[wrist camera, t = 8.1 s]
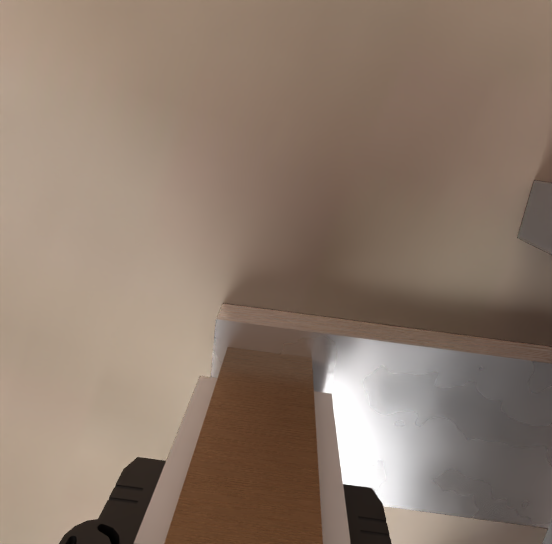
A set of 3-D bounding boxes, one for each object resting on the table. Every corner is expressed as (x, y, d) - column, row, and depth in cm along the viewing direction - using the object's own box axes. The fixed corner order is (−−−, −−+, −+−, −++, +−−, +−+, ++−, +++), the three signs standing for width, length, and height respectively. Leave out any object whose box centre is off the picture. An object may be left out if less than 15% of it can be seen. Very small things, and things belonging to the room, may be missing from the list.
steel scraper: (208, 455, 19) (113, 804, 9) (222, 303, 17) (118, 544, 7) (654, 515, 19) (1039, 933, 9) (724, 369, 17) (1321, 707, 7)
